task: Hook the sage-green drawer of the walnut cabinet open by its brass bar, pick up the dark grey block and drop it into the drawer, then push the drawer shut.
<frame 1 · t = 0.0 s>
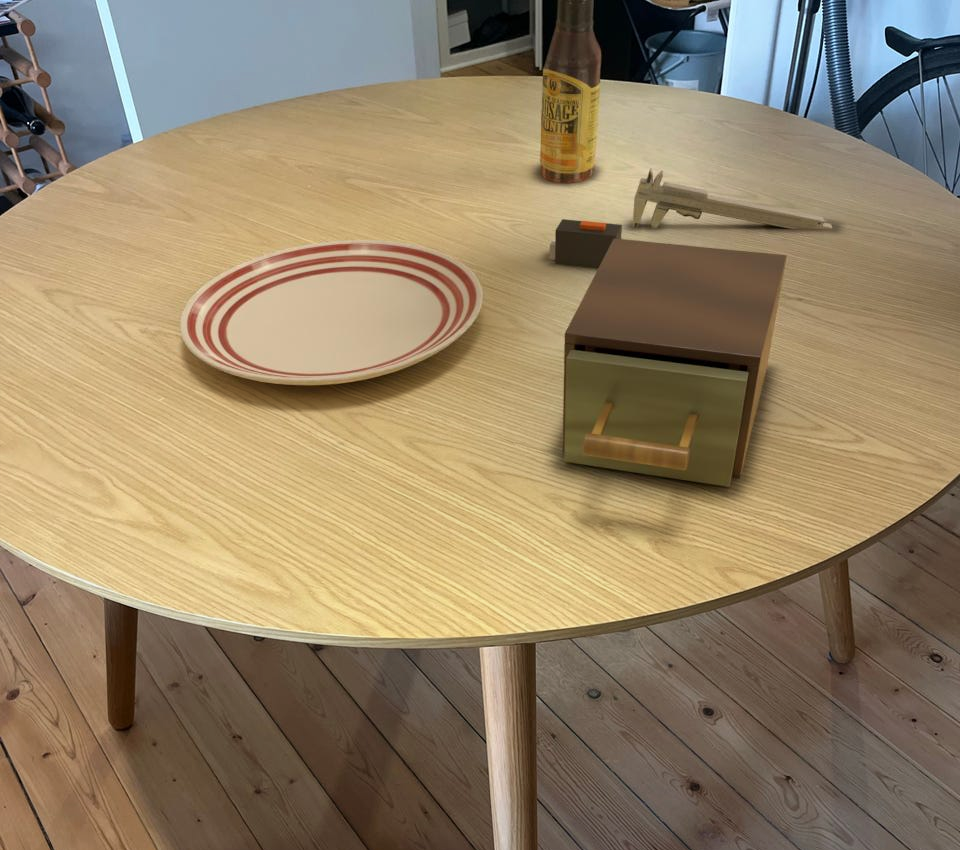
cabinet: (667, 415, 83), on the table
caliper: (731, 233, 106), on the table
drawer: (661, 391, 76), point 5 cm above the table, slide at 0.5 cm
sauce bottle: (568, 180, 117), on the table
dark grey block: (583, 266, 102), on the table
dinner plate: (337, 334, 95), on the table
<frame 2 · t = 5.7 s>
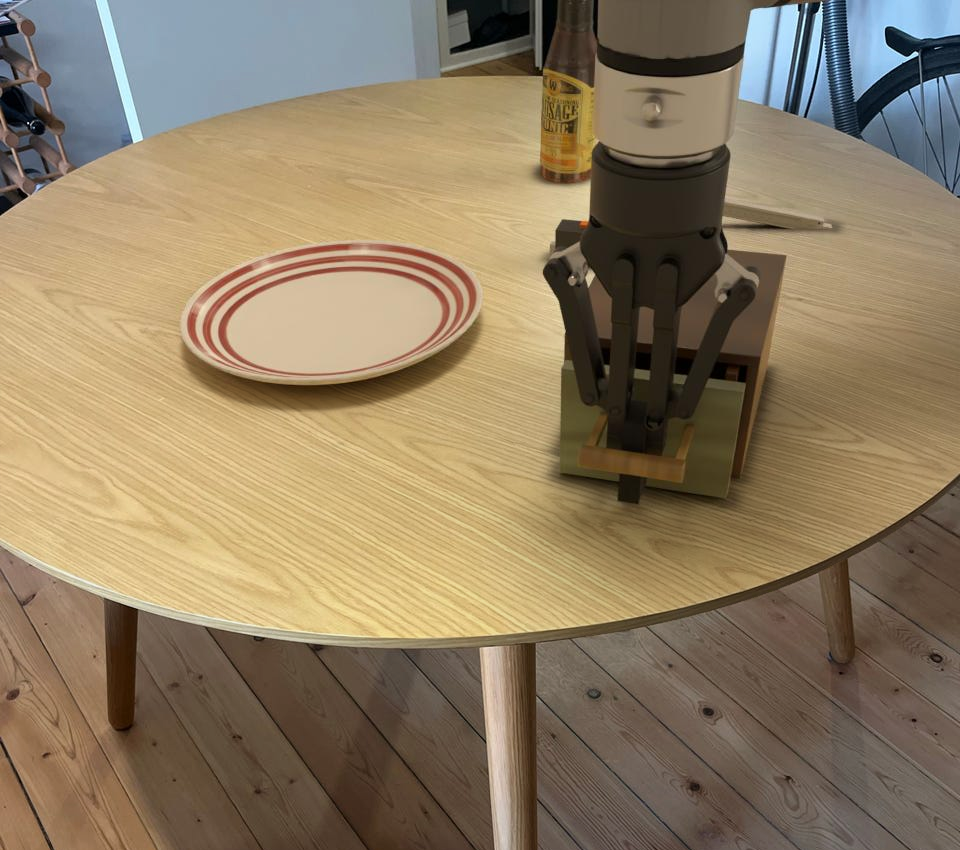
hand: (632, 491, 72), 2 cm above the table, tool pointing down, fingers closed
drawer: (657, 401, 75), point 5 cm above the table, slide at 1.9 cm
everything else where it was.
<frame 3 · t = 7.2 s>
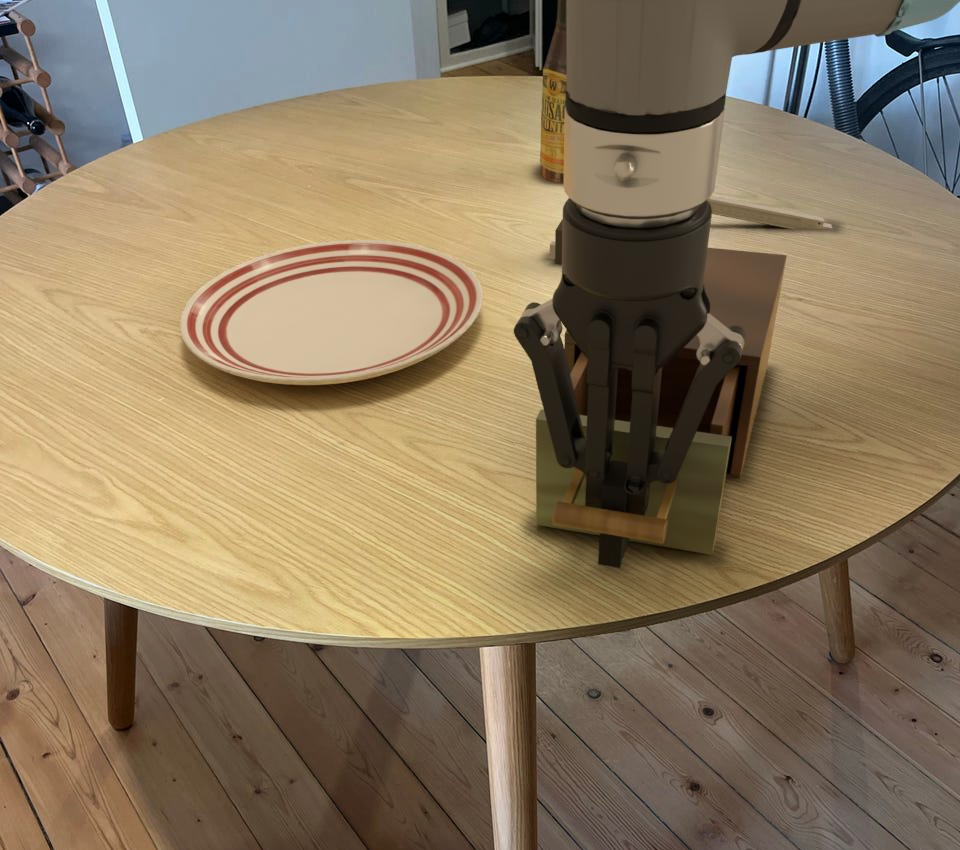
hand: (613, 553, 68), 2 cm above the table, tool pointing down, fingers closed
drawer: (639, 451, 70), point 5 cm above the table, slide at 8.3 cm
everything else where it was.
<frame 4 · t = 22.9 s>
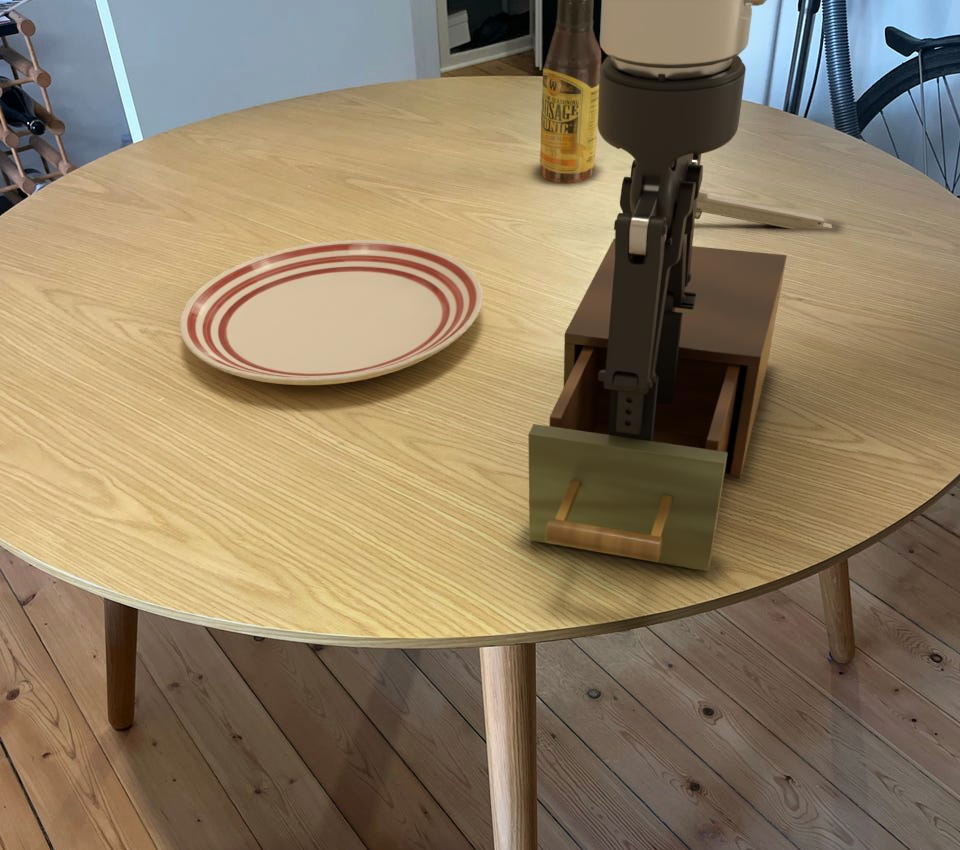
hand: (641, 431, 69), 7 cm above the table, tool pointing down, fingers open, 8 cm apart
drawer: (634, 465, 69), point 5 cm above the table, slide at 10.1 cm, touching dark grey block, gripper
dark grey block: (627, 509, 71), point 2 cm above the table, touching drawer
everything else where it was.
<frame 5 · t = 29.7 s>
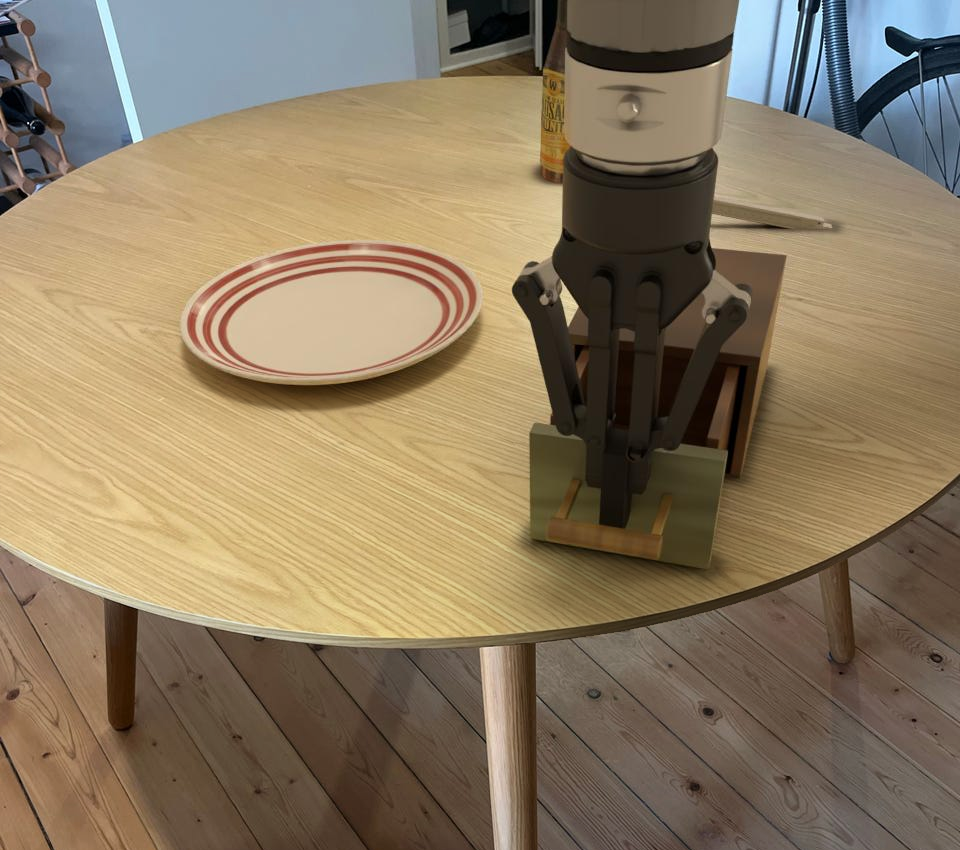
hand: (614, 526, 66), 5 cm above the table, tool pointing down, fingers closed
nothing on the table moved.
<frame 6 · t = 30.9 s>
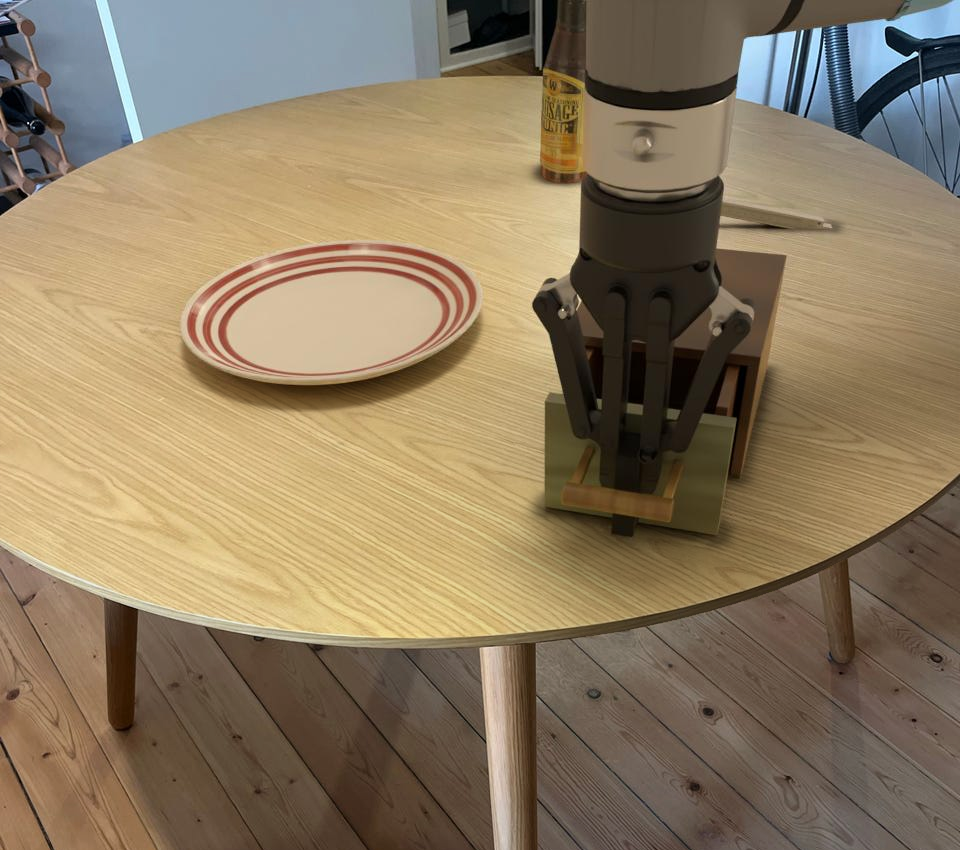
hand: (626, 523, 70), 2 cm above the table, tool pointing down, fingers closed
drawer: (645, 434, 72), point 5 cm above the table, slide at 6.2 cm, touching dark grey block, gripper
dark grey block: (638, 477, 74), point 2 cm above the table, touching drawer
everything else where it was.
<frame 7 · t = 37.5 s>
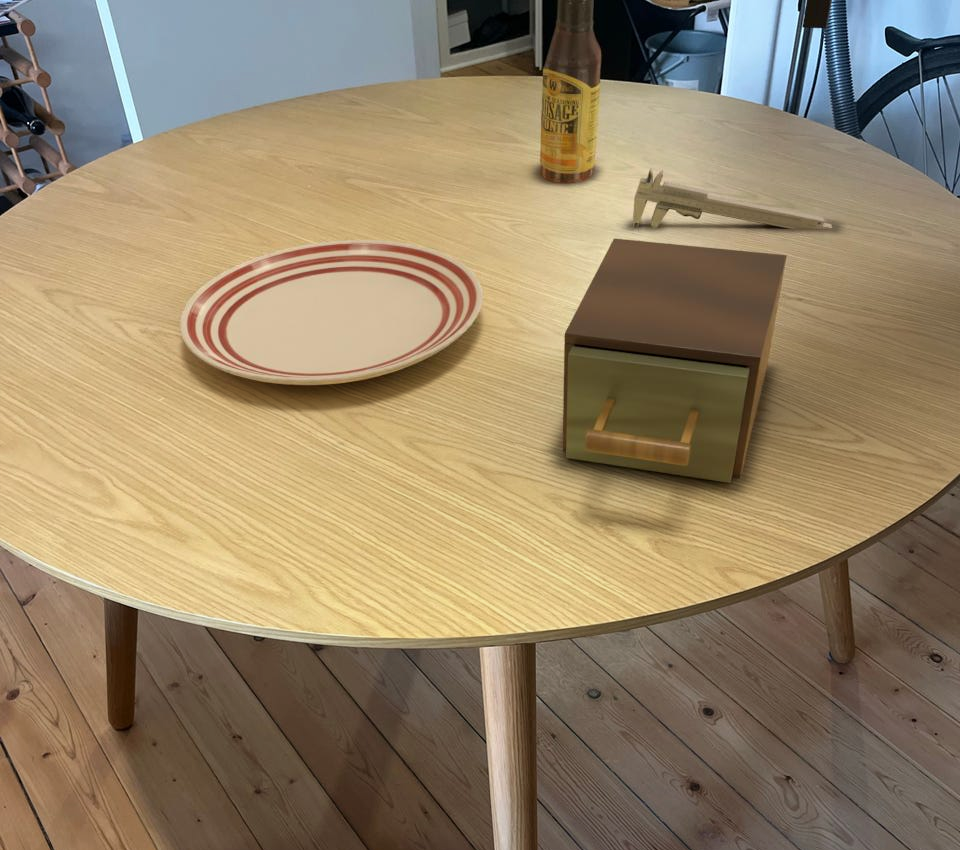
hand: (815, 21, 68), 26 cm above the table, tool pointing down, fingers closed
drawer: (662, 388, 76), point 5 cm above the table, slide at 0.0 cm, touching dark grey block, cabinet
dark grey block: (655, 430, 78), point 2 cm above the table, touching drawer
everything else where it was.
at the end: drawer pulled out 10.1 cm at the most during the clip, back to where it started at the end; dark grey block inside the target area in the cabinet (4.3 cm from its centre), point 2.0 cm above the cabinet's base; drawer slide at 0.0 cm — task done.
